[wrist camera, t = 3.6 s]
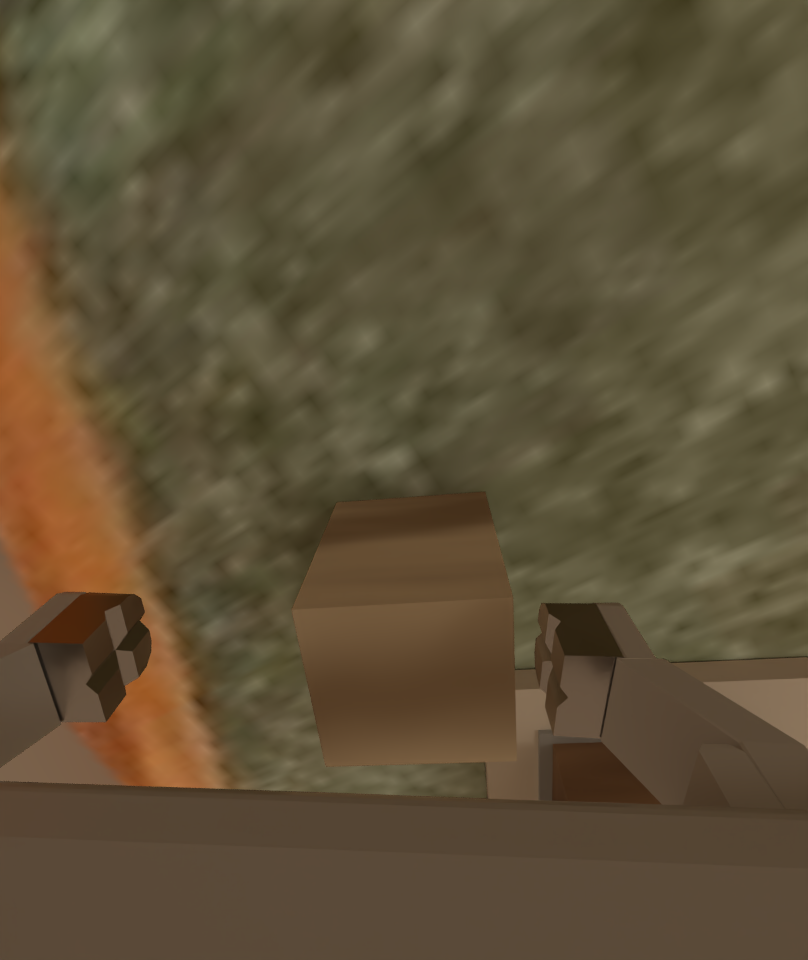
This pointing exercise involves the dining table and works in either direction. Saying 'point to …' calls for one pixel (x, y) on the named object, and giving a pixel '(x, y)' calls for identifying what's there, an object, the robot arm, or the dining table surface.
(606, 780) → the walnut block
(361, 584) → the maple block
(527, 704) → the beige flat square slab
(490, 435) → the dining table surface
